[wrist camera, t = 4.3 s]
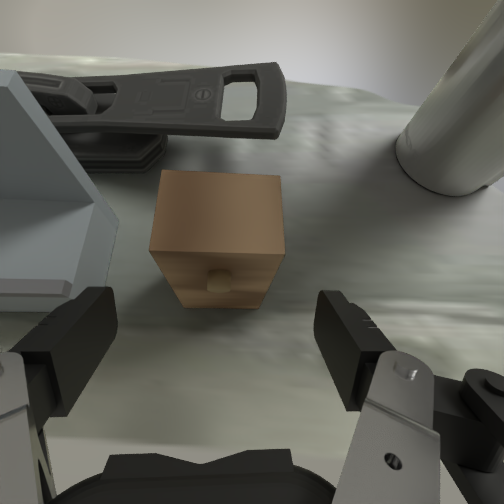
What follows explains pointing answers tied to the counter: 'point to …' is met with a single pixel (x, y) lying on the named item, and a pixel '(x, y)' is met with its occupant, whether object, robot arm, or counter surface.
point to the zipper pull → (153, 111)
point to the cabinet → (218, 237)
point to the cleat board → (45, 210)
